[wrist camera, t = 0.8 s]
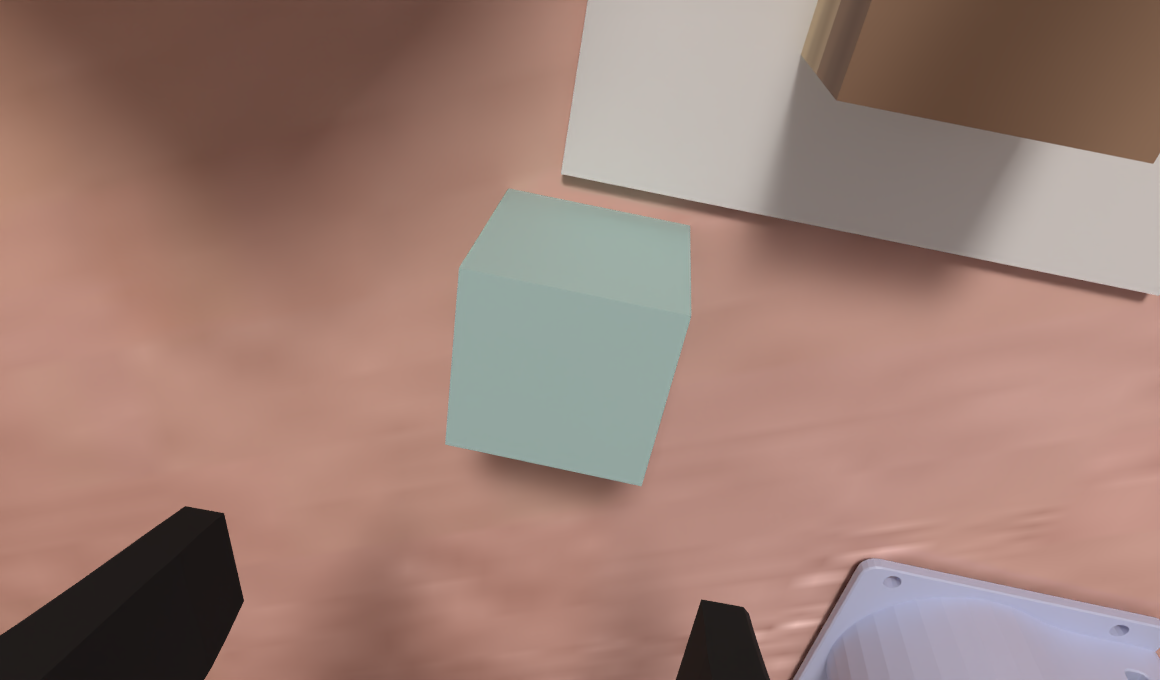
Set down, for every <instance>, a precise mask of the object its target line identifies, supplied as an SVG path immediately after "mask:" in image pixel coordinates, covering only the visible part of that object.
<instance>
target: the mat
mask: <svg viewBox="0 0 1160 680" xmlns="http://www.w3.org/2000/svg"><path fill="white" fill-rule="evenodd" d="M817 2H818V0H588V3H587V9H586V16H585V22H584V29H583V35H582V41H581V48H580V54H579V61H578V67H577V74H576V80H575V87H574V93H573V100H572V106H571V113H570V119H569V126H568V132H567V139H566V145H565V152H564V158H563V165H562V171H561V174H564V175H569V176H574V177H578V178H583V179H588V180H593V181H598V182H603V183H608V184H613V185H618V186H623V187H628V188H632V189H637V190H642V191H647V192H652V193H657V194H662V195H667V196H672V197H677V198H682V199H687V200H691V201H696V202H701V203H706V204H711V205H716V206H721V207H726V208H731V209H736V210H741V211H745V212H750V213H755V214H760V215H765V216H770V217H775V218H780V219H785V220H790V221H795V222H799V223H804V224H809V225H814V226H819V227H824V228H829V229H834V230H839V231H844V232H849V233H854V234H858V235H863V236H868V237H873V238H878V239H883V240H888V241H893V242H898V243H903V244H908V245H912V246H917V247H922V248H927V249H932V250H937V251H942V252H947V253H952V254H957V255H962V256H966V257H971V258H976V259H981V260H986V261H991V262H996V263H1001V264H1006V265H1011V266H1016V267H1021V268H1025V269H1030V270H1035V271H1040V272H1045V273H1050V274H1055V275H1060V276H1065V277H1070V278H1075V279H1079V280H1084V281H1089V282H1094V283H1099V284H1104V285H1109V286H1114V287H1119V288H1124V289H1129V290H1133V291H1138V292H1143V293H1148V294H1153V295H1158V296H1159V295H1160V154H1159V155H1158V157H1157V159H1156V160H1155V162H1154V163H1153V164H1151V163H1146V162H1141V161H1136V160H1131V159H1126V158H1121V157H1116V156H1111V155H1106V154H1101V153H1096V152H1091V151H1086V150H1081V149H1076V148H1071V147H1066V146H1061V145H1056V144H1051V143H1046V142H1041V141H1036V140H1031V139H1026V138H1021V137H1016V136H1011V135H1006V134H1001V133H996V132H991V131H986V130H981V129H976V128H971V127H966V126H961V125H956V124H951V123H946V122H941V121H936V120H931V119H926V118H921V117H916V116H911V115H906V114H901V113H896V112H891V111H886V110H881V109H876V108H871V107H866V106H861V105H856V104H851V103H846V102H841V101H836V99H835V98H834V97H833V96H832V94H831V93H830V92H829V90H828V89H827V88H826V87H825V85H824V84H823V83H822V81H821V80H820V79H819V78H818V76H817V75H816V74H815V72H814V71H813V70H812V68H811V67H810V66H809V65H808V63H807V62H806V61H805V59H804V58H803V57H802V56H801V53H802V50H803V46H804V43H805V40H806V37H807V34H808V31H809V27H810V24H811V21H812V18H813V15H814V12H815V8H816V5H817Z"/></svg>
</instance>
